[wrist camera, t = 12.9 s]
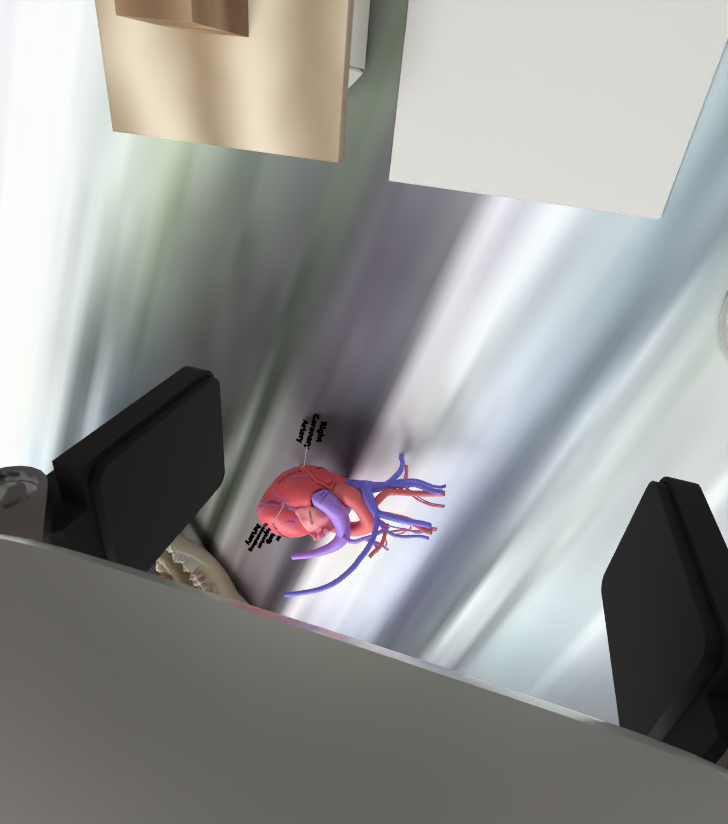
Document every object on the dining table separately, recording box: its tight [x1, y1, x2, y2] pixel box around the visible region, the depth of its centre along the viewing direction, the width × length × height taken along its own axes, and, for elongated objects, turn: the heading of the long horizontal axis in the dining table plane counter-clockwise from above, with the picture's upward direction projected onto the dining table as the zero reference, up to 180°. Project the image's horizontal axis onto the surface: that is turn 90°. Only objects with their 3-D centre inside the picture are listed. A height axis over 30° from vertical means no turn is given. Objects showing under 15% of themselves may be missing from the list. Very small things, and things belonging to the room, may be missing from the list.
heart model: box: [245, 414, 446, 597], centre depth 45 cm, size 15×9×18 cm
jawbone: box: [156, 534, 245, 603], centre depth 59 cm, size 25×10×14 cm, turn 19°
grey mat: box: [389, 0, 728, 219], centre depth 30 cm, size 18×18×1 cm
